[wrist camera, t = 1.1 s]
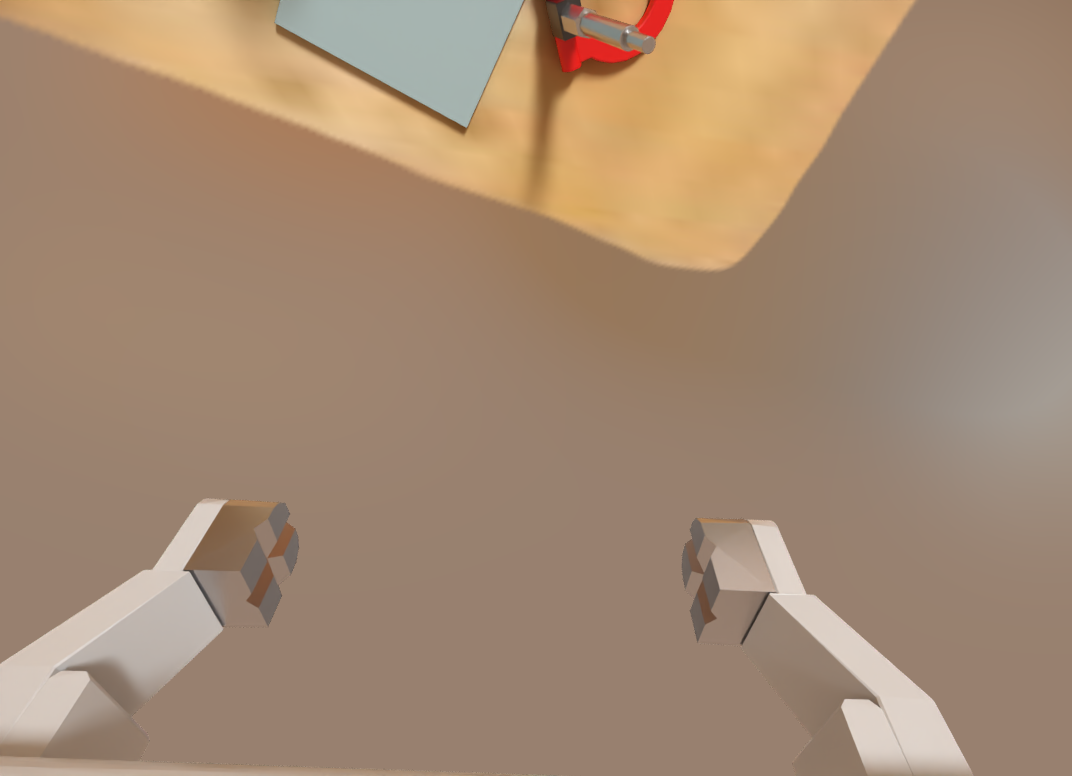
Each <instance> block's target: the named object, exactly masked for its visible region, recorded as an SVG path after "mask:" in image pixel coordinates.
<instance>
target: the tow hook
mask: <svg viewBox="0 0 1072 776" xmlns="http://www.w3.org/2000/svg"><path fill="white" fill-rule="evenodd" d="M673 1H674V0H650V2H649V5H648V7H647V9H646V11H645V14H644V15H643V17H642V18H641V19H640V21H639V22H638V24H637V25H635V26H634V25H630V24H627V23H624V22H621V21H617V20H614V19H611V18H608V17H604V16H601V15H598V14H597V12H596V11H595V10H591V9H588V8H584V7H581V3H580V0H546V7H547V11H548V16H549V20H550V25H551V29H552V34H553V36H554V37H555V40H556V45H557V49H558V54H559V58H560V62H561V67H562V71H563V72H571V71H574V70H576V69H578V68H580V67H581V62H583V61H585V60H587V59H590V58H593V59H595V60H597V61H601V62H607V63H616V62H622V61H626V60H628V59H630V58H632V57H634V56H636V55H638V54H640V53H641V52H643V53H645V54H650V53H651V52H652V51H653V50H654V48H655V45H656V42H655V38H656V37H657V35H658V34H659V33H660V31H661V30H662V29H663V27H664V24H665V22H666V20H667V18H668V16H669V14H670V12H671V9H672V5H673Z"/></svg>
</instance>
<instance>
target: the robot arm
mask: <svg viewBox="0 0 1072 776" xmlns="http://www.w3.org/2000/svg"><path fill="white" fill-rule="evenodd" d="M289 515H290V513H289V510H288V508H287V506H286V504H285V503H279V502H262V501H248V500H232V499H212V498H205V499H203V500H202V501H201V502H199V503H198V504H197V505H196V506H195V507H194V509H193V510H192V512H191V513H190V515H189V516H188V518H187V519H186V521H185V522H184V524H183V525H182V527H181V528H180V530H179V531H178V533H177V534H176V535H175V537H174V538H173V540H172V541H171V543H170V544H169V546H168V547H167V549H166V550H165V552H164V553H163V555H162V556H161V558H160V559H159V561H158V562H157V563H156V565H155V566H154V568H153V569H152V570H143V571H141V572H140V573H138V574H137V575H135V576H134V577H132V578H131V579H129V580H128V581H126V582H125V583H123V584H122V585H120V586H118V587H117V588H115V589H114V590H113V591H111V592H109V593H108V594H106V595H105V596H103V597H102V598H100V599H99V600H97V601H96V602H94V603H93V604H91V605H90V606H88V607H87V608H85V609H84V610H82V611H80V612H79V613H77V614H76V615H74V616H73V617H71V618H70V619H68V620H67V621H65V622H64V623H62V624H61V625H59V626H58V627H56V628H54V629H53V630H51V631H50V632H48V633H47V634H45V635H44V636H42V637H41V638H39V639H38V640H36V641H35V642H33V643H31V644H30V645H29V646H27V647H25V648H24V649H22V650H21V651H19V652H18V653H17V654H15V655H13V656H12V657H10V658H9V659H7V660H6V661H4V662H3V663H1V664H0V776H556V775H528V774H499V773H471V772H443V771H442V772H441V771H414V770H386V769H358V768H357V769H356V768H329V767H328V768H327V767H300V766H299V767H298V766H269V765H243V764H241V765H240V764H214V763H183V762H157V761H140V759H141V757H142V755H143V753H144V751H145V749H146V747H147V745H148V743H149V741H150V740H149V737H148V734H147V732H146V731H145V730H144V729H143V728H142V727H141V726H140V725H139V724H138V723H137V722H136V721H135V720H134V719H133V718H132V716H133V715H134V714H135V713H136V712H137V711H138V710H139V709H140V708H141V707H142V706H143V705H144V704H145V703H146V702H148V701H149V700H150V699H151V697H153V696H154V695H155V694H156V693H157V692H158V691H159V690H160V689H161V688H162V687H163V686H164V685H165V684H166V683H167V682H169V681H170V680H171V679H172V678H173V677H174V676H175V675H176V674H177V673H178V672H179V671H180V670H181V669H182V668H183V667H185V666H186V665H187V664H188V663H189V662H190V661H191V660H192V659H193V658H194V657H195V656H196V655H197V654H198V653H199V652H200V651H201V650H202V649H203V648H205V646H207V645H208V644H209V643H210V642H211V641H212V640H213V639H214V638H215V637H216V636H217V635H218V634H219V633H220V632H221V631H223V627H268V626H269V624H270V622H271V619H272V617H273V615H274V612H275V610H276V608H277V606H278V603H279V601H280V599H281V597H282V595H281V591H280V588H279V584H280V583H282V582H283V581H284V580H285V579H286V578H288V577H289V576H290V575H291V573H292V571H293V569H294V566H295V564H296V560H297V554H298V549H299V543H298V535H297V532H296V529H295V528H294V527H293V526H291V525H290V524H288V523H287V522H286V521H287V520H288V517H289ZM690 532H691V536H692V539H691V540H690V541H688V542H687V543H686V544H685V546H684V550H683V554H682V575H683V582H684V587H685V590H686V591H687V592H688V594H689V595H690V596H691V597H692V598H693V599H694V601H693V604H692V607H691V609H690V613H691V617H692V622H693V626H694V630H695V634H696V639H697V643H701V644H717V645H732V646H742V647H741V649H742V651H744V653H745V654H746V656H747V657H748V658H749V659H750V661H751V662H752V663H753V664H754V666H755V667H756V668H757V669H758V670H759V672H760V673H761V674H762V676H763V677H764V678H765V679H766V681H767V682H768V683H769V685H770V686H771V687H772V688H773V690H774V691H775V692H776V693H777V695H778V696H779V697H780V698H781V700H782V701H783V702H784V703H785V705H786V706H787V707H788V708H789V710H790V711H791V712H792V713H793V715H794V716H795V717H796V719H797V720H798V721H799V722H800V724H801V725H802V726H803V727H804V728H805V730H806V731H807V732H808V734H809V735H810V736H811V737H812V739H811V740H810V741H809V742H808V743H807V745H806V746H805V747H804V748H803V749H802V750H801V752H800V753H799V754H798V755H797V756H796V758H795V759H794V761H793V763H792V765H793V769H794V772H795V775H796V776H974V775H973V773H972V771H971V770H970V768H969V766H968V764H967V762H966V760H965V758H964V757H963V755H962V753H961V751H960V749H959V747H958V745H957V743H956V742H955V740H954V738H953V736H952V734H951V732H950V730H949V728H948V727H947V725H946V723H945V721H944V719H943V717H942V715H941V713H940V711H939V710H938V708H937V706H936V704H935V702H934V700H932V699H931V698H930V697H929V696H928V695H927V694H926V693H925V692H923V691H922V690H921V689H920V688H919V687H918V686H917V685H915V684H914V683H913V682H912V681H911V680H910V679H909V678H908V677H906V676H905V675H904V674H903V673H902V672H901V671H899V670H898V669H897V668H896V667H895V666H894V665H893V664H892V663H891V662H889V661H888V660H887V659H886V658H885V657H884V656H883V655H882V654H880V653H879V652H878V651H877V650H876V649H875V648H873V646H871V645H870V644H869V643H868V642H867V641H866V640H865V639H863V638H862V637H861V636H860V635H859V634H858V633H857V632H856V631H854V630H853V629H852V628H851V627H850V626H849V625H848V624H846V623H845V622H844V621H843V620H842V619H841V618H840V617H839V616H837V615H836V614H835V613H834V612H833V611H832V610H831V609H830V608H828V607H827V606H826V605H825V604H824V603H823V602H821V601H820V600H819V599H818V598H817V597H816V596H815V595H808V594H806V592H805V590H804V588H803V585H802V583H801V581H800V578H799V576H798V574H797V571H796V569H795V567H794V564H793V562H792V560H791V557H790V555H789V553H788V551H787V548H786V546H785V543H784V541H783V539H782V537H781V534H780V532H779V529H778V527H777V525H776V524H775V523H774V522H773V521H767V520H744V519H723V518H721V519H720V518H696V519H695V520H694V521H693V522H692V525H691V528H690Z"/></svg>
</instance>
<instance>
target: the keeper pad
mask: <svg viewBox="0 0 1072 776" xmlns="http://www.w3.org/2000/svg"><path fill="white" fill-rule="evenodd" d="M523 1H524V0H280V3H279V7H278V11H277V15H276V19H275V23H276V24H277V25H279V26H281V27H283V28H285V29H287V30H288V31H290V32H292V33H294V34H296V35H298V36H299V37H301V38H303V39H305V40H307V41H309V42H310V43H312V44H314V45H316V46H318V47H320V48H321V49H323V50H325V51H327V52H329V53H331V54H332V55H334V56H336V57H338V58H340V59H342V60H343V61H345V62H347V63H349V64H351V65H352V66H354V67H356V68H358V69H360V70H362V71H363V72H365V73H367V74H369V75H371V76H373V77H374V78H376V79H378V80H380V81H382V82H384V83H385V84H387V85H389V86H391V87H393V88H395V89H396V90H398V91H400V92H402V93H404V94H406V95H407V96H409V97H411V98H413V99H415V100H417V101H418V102H420V103H422V104H424V105H426V106H428V107H429V108H431V109H433V110H435V111H437V112H438V113H440V114H442V115H444V116H446V117H448V118H449V119H451V120H453V121H455V122H457V123H459V124H460V125H462V126H464V127H466V128H467V126H468V124H469V122H470V119H471V117H472V115H473V113H474V110H475V108H476V106H477V104H478V101H479V99H480V97H481V95H482V93H483V90H484V88H485V86H486V84H487V81H488V79H489V77H490V75H491V72H492V70H493V68H494V66H495V63H496V61H497V59H498V57H499V54H500V52H501V50H502V48H503V46H504V43H505V41H506V39H507V37H508V34H509V32H510V30H511V28H512V25H513V23H514V21H515V19H516V16H517V14H518V12H519V10H520V7H521V5H522V3H523Z"/></svg>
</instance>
